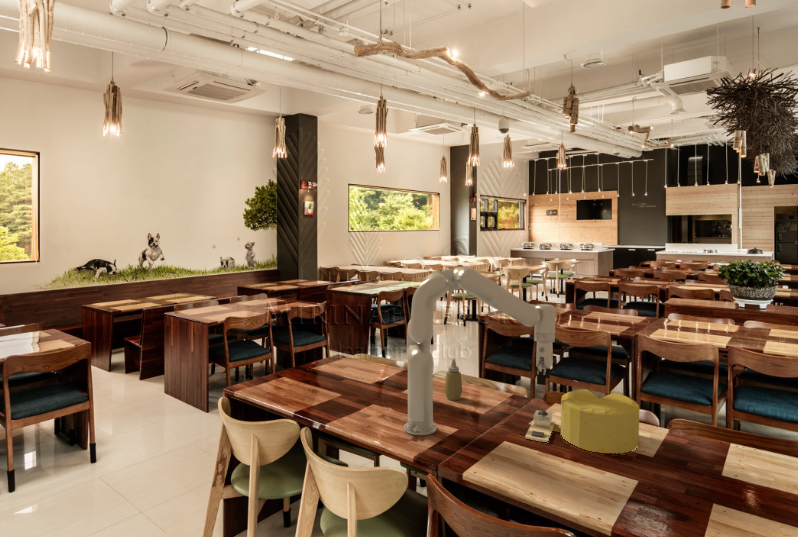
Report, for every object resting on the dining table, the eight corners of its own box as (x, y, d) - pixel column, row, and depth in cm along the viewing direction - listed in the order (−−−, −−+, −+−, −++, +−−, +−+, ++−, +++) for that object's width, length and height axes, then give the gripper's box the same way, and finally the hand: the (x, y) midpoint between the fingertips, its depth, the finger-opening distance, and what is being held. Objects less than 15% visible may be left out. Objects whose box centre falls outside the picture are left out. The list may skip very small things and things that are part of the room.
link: (549, 427, 183) (549, 417, 183) (533, 425, 186) (533, 415, 186) (552, 422, 189) (552, 412, 189) (536, 419, 191) (536, 410, 191)
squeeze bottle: (463, 401, 217) (463, 361, 215) (445, 401, 217) (445, 361, 216) (461, 395, 225) (461, 357, 223) (443, 395, 225) (444, 357, 224)
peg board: (547, 443, 172) (548, 426, 172) (524, 439, 176) (525, 422, 175) (555, 424, 190) (555, 408, 190) (534, 420, 194) (534, 405, 193)
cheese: (599, 421, 193) (600, 384, 192) (655, 447, 169) (657, 405, 168) (545, 431, 184) (546, 392, 183) (596, 460, 160) (597, 415, 159)
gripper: (551, 342, 176) (550, 388, 177) (557, 333, 191) (556, 376, 193) (530, 340, 179) (529, 386, 180) (538, 332, 195) (537, 374, 196)
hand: (543, 381), depth 186 cm, fingers open, 9 cm apart
